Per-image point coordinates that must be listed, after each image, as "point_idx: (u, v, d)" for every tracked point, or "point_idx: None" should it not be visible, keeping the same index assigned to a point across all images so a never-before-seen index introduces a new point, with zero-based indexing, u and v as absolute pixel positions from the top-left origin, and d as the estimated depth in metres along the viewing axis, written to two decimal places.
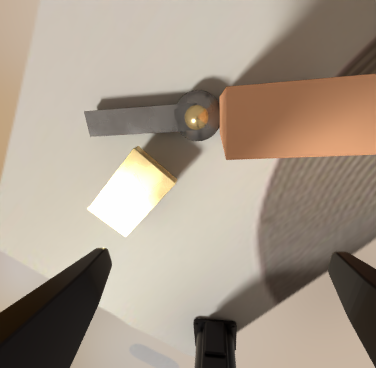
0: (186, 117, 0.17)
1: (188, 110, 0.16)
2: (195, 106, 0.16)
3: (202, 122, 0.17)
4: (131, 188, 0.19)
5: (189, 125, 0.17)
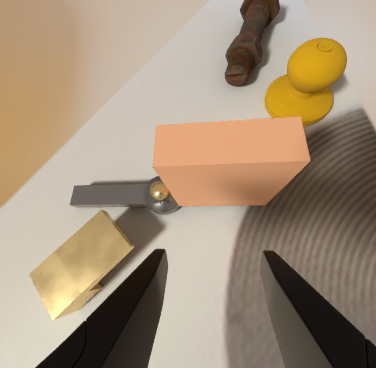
0: (151, 188, 0.21)
1: (153, 184, 0.21)
2: (159, 181, 0.21)
3: (163, 193, 0.20)
4: (85, 250, 0.19)
5: (152, 194, 0.20)
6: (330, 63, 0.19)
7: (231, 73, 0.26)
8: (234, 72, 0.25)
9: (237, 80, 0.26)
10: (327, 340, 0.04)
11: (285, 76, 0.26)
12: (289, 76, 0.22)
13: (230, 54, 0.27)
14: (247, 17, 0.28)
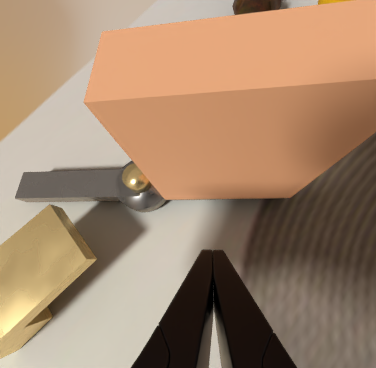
0: (124, 174, 0.14)
1: (128, 167, 0.15)
2: None
3: (141, 180, 0.14)
4: (20, 264, 0.12)
5: (126, 182, 0.14)
6: None
7: None
8: None
9: None
10: (236, 334, 0.04)
11: None
12: None
13: (239, 3, 0.21)
14: None
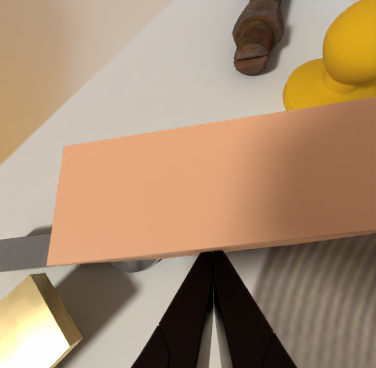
0: None
1: None
2: None
3: None
4: None
5: None
6: None
7: (244, 56, 0.18)
8: (248, 54, 0.18)
9: (252, 66, 0.19)
10: (236, 334, 0.04)
11: (312, 62, 0.19)
12: (328, 58, 0.14)
13: (239, 30, 0.19)
14: None
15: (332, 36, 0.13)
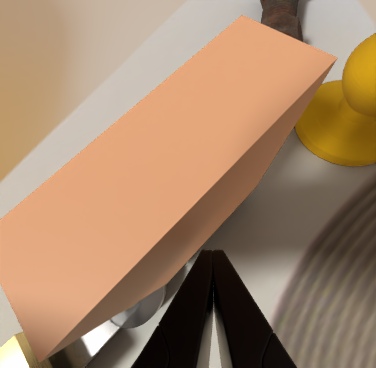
0: None
1: None
2: None
3: None
4: None
5: None
6: None
7: None
8: None
9: None
10: (235, 334, 0.04)
11: (327, 85, 0.17)
12: (349, 89, 0.12)
13: None
14: None
15: (355, 66, 0.12)
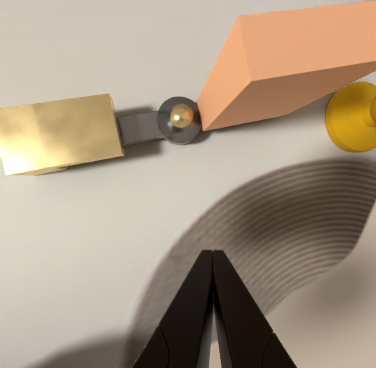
0: (174, 108, 0.17)
1: (179, 105, 0.17)
2: (187, 106, 0.17)
3: (184, 122, 0.17)
4: (71, 126, 0.16)
5: (172, 116, 0.17)
6: None
7: None
8: None
9: None
10: (236, 334, 0.04)
11: (371, 86, 0.22)
12: None
13: None
14: None
15: None
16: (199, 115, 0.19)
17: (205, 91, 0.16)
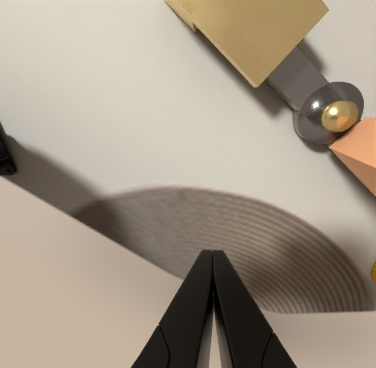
0: (346, 103, 0.13)
1: (354, 106, 0.13)
2: (356, 115, 0.13)
3: (333, 125, 0.14)
4: None
5: (334, 107, 0.13)
6: None
7: None
8: None
9: None
10: (235, 334, 0.04)
11: None
12: None
13: None
14: None
15: None
16: (346, 131, 0.15)
17: None
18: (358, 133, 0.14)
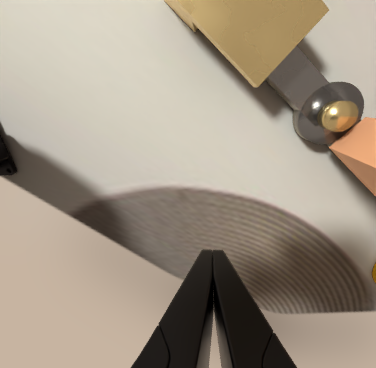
0: (346, 103, 0.13)
1: (354, 106, 0.13)
2: (356, 115, 0.13)
3: (333, 125, 0.14)
4: None
5: (334, 107, 0.13)
6: None
7: None
8: None
9: None
10: (236, 334, 0.04)
11: None
12: None
13: None
14: None
15: None
16: (346, 131, 0.15)
17: None
18: (358, 133, 0.14)
